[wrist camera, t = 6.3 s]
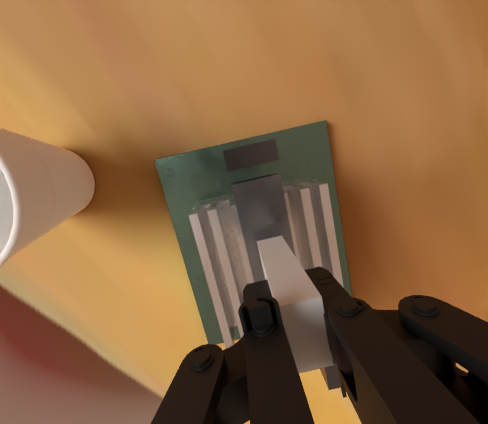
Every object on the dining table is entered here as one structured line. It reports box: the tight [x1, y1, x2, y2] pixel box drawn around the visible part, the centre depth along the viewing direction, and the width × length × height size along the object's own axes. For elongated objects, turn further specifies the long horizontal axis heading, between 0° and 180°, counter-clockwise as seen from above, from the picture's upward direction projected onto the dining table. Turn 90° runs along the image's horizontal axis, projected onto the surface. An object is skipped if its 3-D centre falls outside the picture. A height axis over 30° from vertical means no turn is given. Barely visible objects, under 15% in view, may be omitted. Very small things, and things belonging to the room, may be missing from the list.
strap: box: [231, 173, 296, 282], centre depth 17 cm, size 15×3×1 cm, turn 13°
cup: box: [0, 128, 95, 267], centre depth 18 cm, size 10×10×11 cm
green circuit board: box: [154, 120, 352, 390], centre depth 20 cm, size 20×16×10 cm
